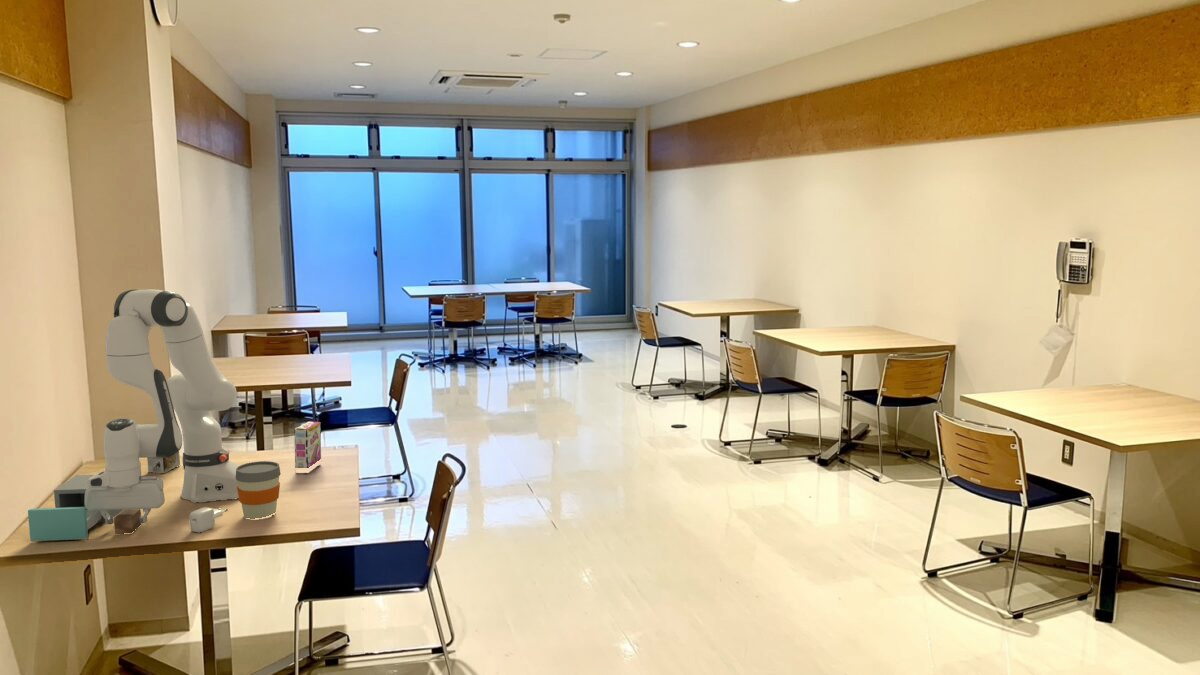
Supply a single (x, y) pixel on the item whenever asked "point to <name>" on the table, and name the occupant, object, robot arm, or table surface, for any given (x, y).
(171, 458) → the coffee box
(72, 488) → the gray drawer box
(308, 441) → the candy bar box
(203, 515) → the power adapter
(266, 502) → the reusable coffee cup
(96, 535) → the table surface
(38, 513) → the teal drawer
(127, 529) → the walnut block
